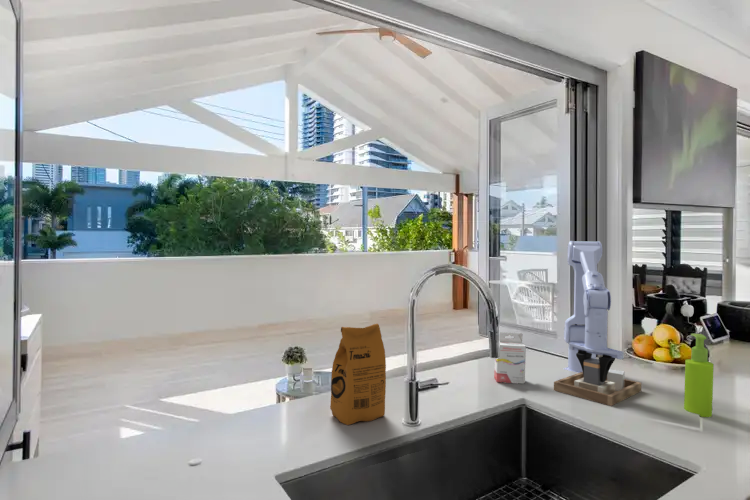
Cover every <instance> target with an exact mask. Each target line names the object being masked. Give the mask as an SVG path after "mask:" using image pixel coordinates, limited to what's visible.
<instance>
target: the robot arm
mask: <svg viewBox="0 0 750 500" xmlns="http://www.w3.org/2000/svg"><path fill="white" fill-rule="evenodd" d="M602 257H603V245H602V242H601V241H600V240H597V241H588V240H587V241H584V240H583V241H581V240H579V241H578V240H576V241H575V240H569V242H568V244H567V264H568V265H569V266H571V267H572V269H573V272H574V276H573V277H574V282H573V284H574V285H573V289H574V290H573V314H572V315H571V316H570V317H568V318H566V319H565V321H564V328H563V340H564V341H565V343H566V344H568V349H567V351H568V353H567V354H568V355H567V356H568V357H567V358H568V359H567V367H563V368H562V369H563V370H564V371H565V370H566V371H569V372H574V373H580V372H583V375H584V360H586V359H588V358H594V359H597V356H600V357H598V359H599V363H600V382H605V381H606V378H607V374H608V371H609V369H611V367H612V366H613V363H614V362H615V360H623V359H624V357H625V352H624V351H622V350H617V349H613V348H611V347H608V322H609V321H608V317H609V312H608V311H610V309H611V305H612V296H611V291H610V289H608V288H607V287H606V286H605V285H606V284H605V279H604V276H603V274H602V273H601V272H599V271H598V264H599V262H600V261H601V259H602Z"/></svg>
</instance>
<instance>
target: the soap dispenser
mask: <svg viewBox="0 0 750 500" xmlns="http://www.w3.org/2000/svg"><path fill="white" fill-rule="evenodd" d="M690 336H691V337H695V346H693V347H691V355H690V356H691V358H689V359H685V361H684V363H685V366H684V367H685V368H684V395H683V397H684V398H683V400H684V401H683V409H684V411H686V412H689V413H692V414H696V415H698V416H699V417H700V418H711V417H712V416H713V395H714V392H713V391H714V363H713V362H710V361H709V360H708V359H709V358H708V356H709V355H708V353H709V349H708V348H706V347H705V340H707V336H706V335H704V334H703V333H690Z"/></svg>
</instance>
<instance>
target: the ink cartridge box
mask: <svg viewBox="0 0 750 500" xmlns="http://www.w3.org/2000/svg"><path fill="white" fill-rule="evenodd" d="M499 332H500V358H498V359H495V358H494V371H493V373H494V375H493V376H494V380H495V381H496V383H502V382H506V383H505V384H518V383H525V382H526V381H525V380H526V357H527V355H526V354H527V353H526V352H527V350H526V349H527V348H526V344H524V343H523V333H522V332H503V331H502V332H501V331H499ZM509 336H510V337H511V338H510V337H509ZM512 337H513V338H512Z"/></svg>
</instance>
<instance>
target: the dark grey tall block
mask: <svg viewBox="0 0 750 500" xmlns="http://www.w3.org/2000/svg"><path fill="white" fill-rule="evenodd" d="M584 382H587V383H591V384H595V385H599V386H601V385H603V384H604V382H600V363H599V358H596V359H594V358H588V359H586V360H584Z"/></svg>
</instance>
